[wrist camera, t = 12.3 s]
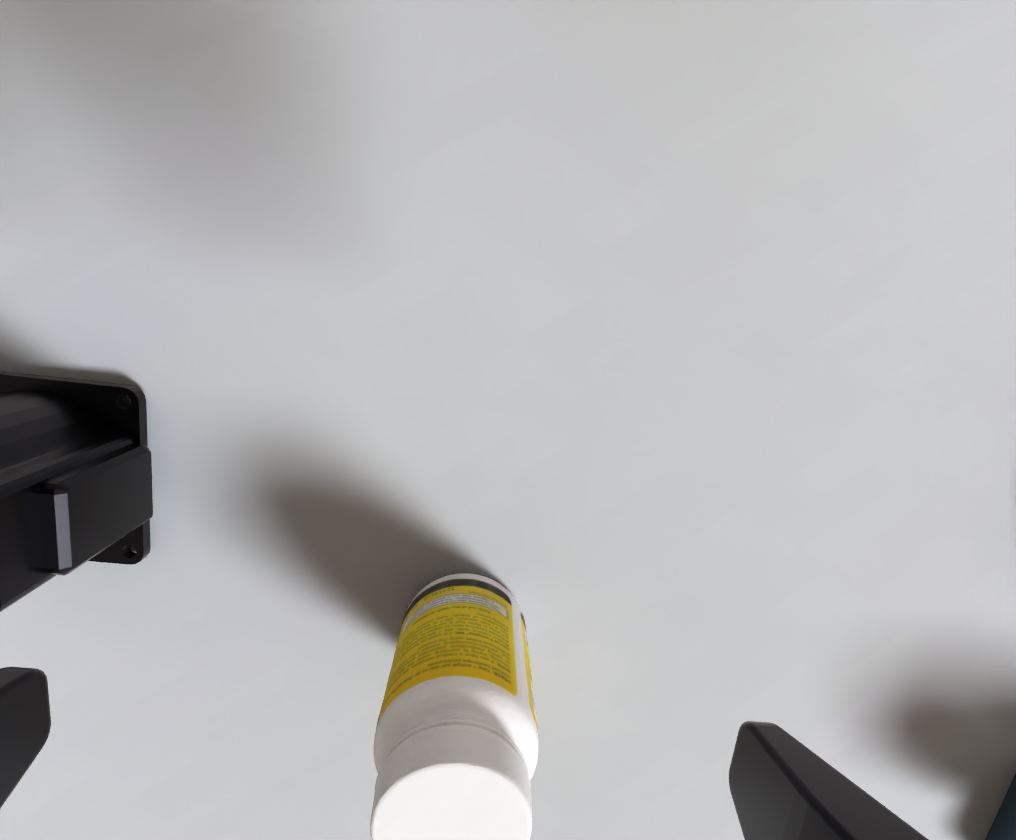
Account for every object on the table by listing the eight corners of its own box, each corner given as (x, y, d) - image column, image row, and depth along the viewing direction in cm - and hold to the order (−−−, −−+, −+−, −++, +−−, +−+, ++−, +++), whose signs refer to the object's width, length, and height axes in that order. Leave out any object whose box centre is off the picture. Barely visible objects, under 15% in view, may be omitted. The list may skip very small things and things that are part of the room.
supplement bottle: (380, 607, 21) (312, 806, 13) (484, 548, 21) (482, 713, 13) (446, 697, 22) (423, 933, 14) (547, 642, 22) (583, 852, 14)
